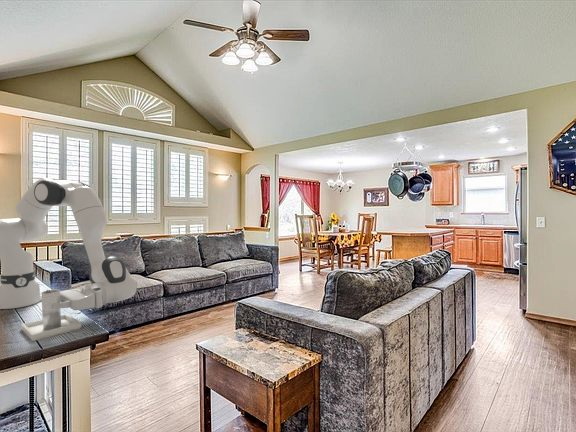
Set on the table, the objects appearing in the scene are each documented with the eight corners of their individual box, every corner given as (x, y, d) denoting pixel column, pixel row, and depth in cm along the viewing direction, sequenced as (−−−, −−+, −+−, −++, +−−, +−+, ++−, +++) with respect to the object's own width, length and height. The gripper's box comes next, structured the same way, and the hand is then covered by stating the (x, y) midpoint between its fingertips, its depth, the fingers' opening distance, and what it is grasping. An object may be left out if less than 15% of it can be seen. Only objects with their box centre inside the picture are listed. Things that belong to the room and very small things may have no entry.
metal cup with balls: (41, 328, 115) (39, 289, 115) (58, 324, 119) (57, 286, 119) (45, 331, 112) (43, 292, 111) (63, 327, 116) (61, 288, 115)
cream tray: (21, 329, 116) (21, 324, 116) (67, 318, 127) (67, 313, 126) (32, 341, 106) (32, 335, 105) (81, 328, 116) (81, 322, 116)
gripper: (83, 283, 132) (41, 290, 121) (102, 291, 118) (57, 300, 108) (83, 298, 132) (42, 307, 122) (103, 308, 119) (58, 318, 108)
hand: (49, 303), depth 115 cm, fingers open, 8 cm apart
